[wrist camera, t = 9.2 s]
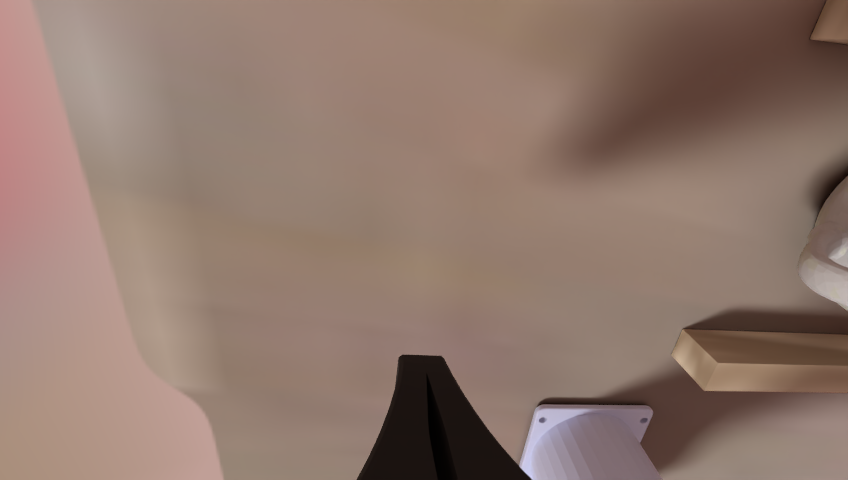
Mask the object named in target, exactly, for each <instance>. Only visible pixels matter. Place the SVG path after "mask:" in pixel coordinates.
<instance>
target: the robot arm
mask: <svg viewBox="0 0 848 480" xmlns="http://www.w3.org/2000/svg"><path fill="white" fill-rule="evenodd" d="M652 415H653V411H652V409H651V408H650V407H649V406H646V405H552V404H543V405H540V406H538V407H537V408H536V410H535V413H534V416H533V420H532V423H531V426H530V430H529V433H528V437H527V440H526V444H525V447H524V451H523V454H522V458H521V461H520V465H518V464H517V463H516V462H515V461H514V460H513V459H512V458H511V457H510V456H509V454H508V453H507V452H506V451H505V450H504V449H503V448H502V446H501V445H500V444H499V443H498V441H497V440H496V439H495V438H494V436H493V435H492V434H491V433H490V431H489V430H488V429H487V427H486V426H485V425H484V423H483V422H482V421H481V419H480V418H479V416H478V415H477V413H476V412H475V410H474V409H473V407H472V406H471V404H470V403H469V401H468V400H467V398H466V397H465V395H464V394H463V392H462V390H461V389H460V387H459V385H458V384H457V382H456V380H455V378H454V377H453V375H452V373H451V371H450V369H449V367H448V366H447V364H446V362H445V360H444V358H443V357H442V356H427V355H402V356H400V357H399V359H398V368H397V376H396V385H395V391H394V394H393V397H392V401H391V404H390V407H389V410H388V413H387V415H386V418H385V421H384V423H383V426H382V429H381V431H380V433H379V436H378V438H377V440H376V443H375V445H374V447H373V449H372V451H371V453H370V455H369V457H368V459H367V461H366V463H365V465H364V467H363V469H362V471H361V473H360V474H359V476H358V478H357V480H663V479H662V478H661V476H660V474H659V473H658V471H657V470H656V468H655V467H654V465H653V463H652V462H651V460H650V459H649V457H648V456H647V454H646V452H645V451H644V449H643V448H642V446H641V445H640V442H641V440H642V438H643V436H644V433H645V431H646V429H647V427H648V424H649V422H650V420H651V418H652ZM542 417H543V418H542Z"/></svg>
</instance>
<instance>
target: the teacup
mask: <svg viewBox="0 0 848 480" xmlns="http://www.w3.org/2000/svg"><path fill="white" fill-rule="evenodd" d="M807 243H808V244H807V245H806V246H805V248H804V249H803V251H802V253H801V255H800V259H799V262H798V273H799V276H800V278H801V279H802V281H803V282H804V283H805V284H806V285H807V286H808V287H809V288H811V289H812V290H813V291H815V292H816V293H818V294H819V295H821V296H823V297H825V298H827V299H830V300H832V301H834V302H837V303H838V304H839V305H840V306H841V307H843V308H844V309H846V310H847V311H848V176H847V177H846V178H845V179H844V180H843V181H842V182H841V183H840V184H839V185H838V186H837V187H836V188H835V189H834V191H833V192H832V193H831V194H830V196H829V197H828V199H827V200H826V201H825V203H824V205H823V207H822V209H821V210H820V212H819V215H818V217H817V220H816V223H815V227H814V229H813V230H811V232H810V234H809V236H808V238H807Z"/></svg>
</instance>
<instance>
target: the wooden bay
mask: <svg viewBox="0 0 848 480" xmlns="http://www.w3.org/2000/svg"><path fill="white" fill-rule="evenodd" d="M810 40H818V41H826V42H833V43H841V44H848V0H827V1H826V3H825V5H824V8H823V10H822V12H821V15H820V17H819V19H818V21H817V24H816V26H815V28H814V31H813V33H812V35H811V37H810ZM672 356H673V357H674V359H675V360H676V361H677V362H678V363H679V364H680V365H681V366H682V367H683V368H684V369H685V371H686V372H687V373H688V374H689V375H690V376H691V377H692V378H693V379H694V380H695V381H696V383H697V384H698V385H699V386H700V387H701V388H702V389H703V390H704V391H754V392H824V393H848V335H842V334H813V333H783V332H753V331H724V330H694V329H683V330H682V332H681V334H680V337H679V339H678V341H677V343H676V346H675V348H674V350H673V353H672Z"/></svg>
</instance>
